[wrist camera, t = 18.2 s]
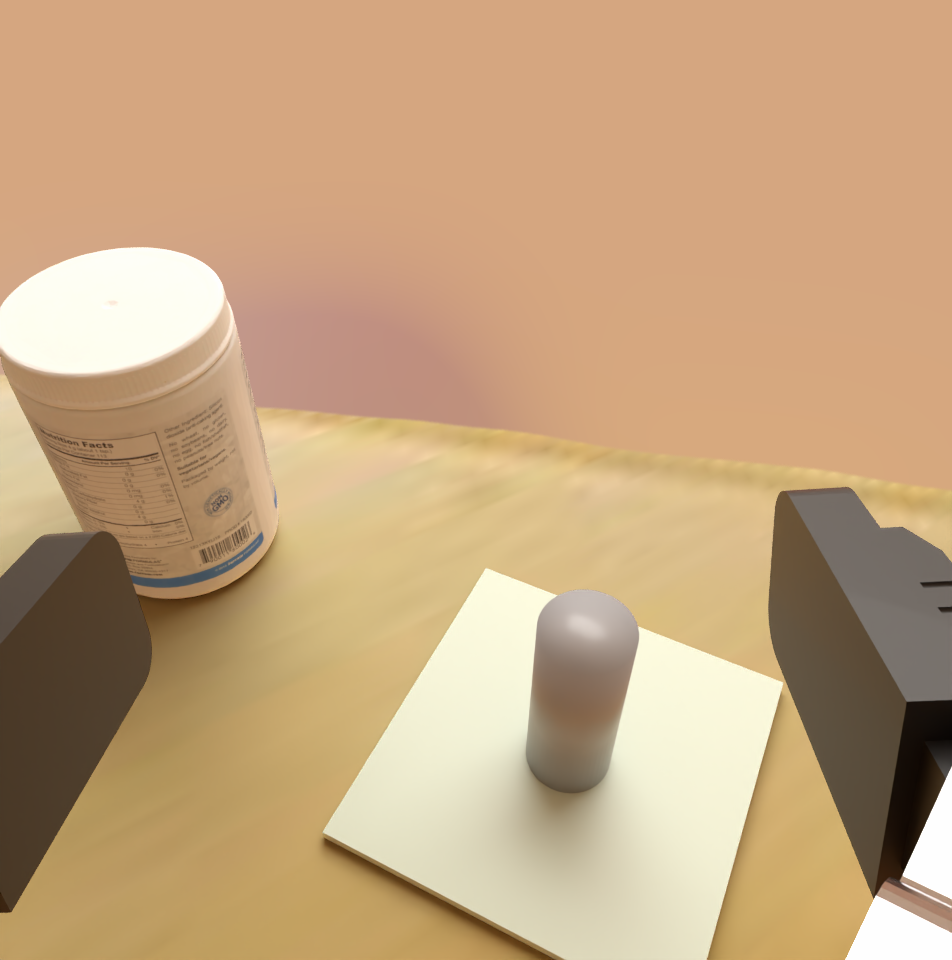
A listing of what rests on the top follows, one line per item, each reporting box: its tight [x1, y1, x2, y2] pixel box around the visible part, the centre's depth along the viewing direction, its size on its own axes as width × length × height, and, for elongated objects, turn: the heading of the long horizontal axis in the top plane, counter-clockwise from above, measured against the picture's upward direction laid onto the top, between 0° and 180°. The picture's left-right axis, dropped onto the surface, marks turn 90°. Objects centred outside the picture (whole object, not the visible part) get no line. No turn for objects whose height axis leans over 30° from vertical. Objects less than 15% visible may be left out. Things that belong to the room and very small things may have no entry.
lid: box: [323, 568, 783, 960], centre depth 34 cm, size 15×15×10 cm
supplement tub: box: [0, 248, 279, 599], centre depth 41 cm, size 10×10×15 cm
